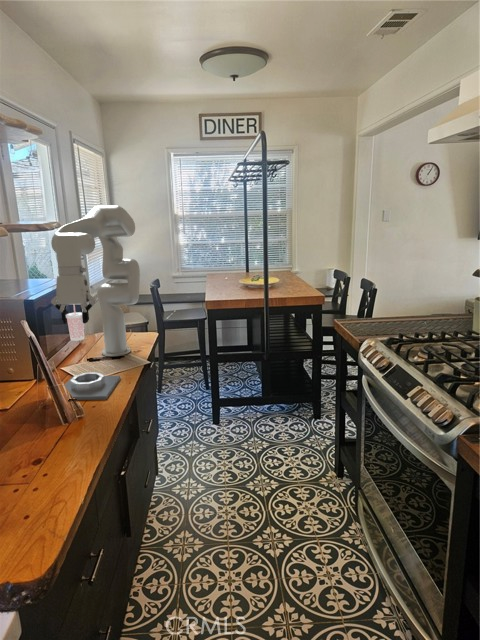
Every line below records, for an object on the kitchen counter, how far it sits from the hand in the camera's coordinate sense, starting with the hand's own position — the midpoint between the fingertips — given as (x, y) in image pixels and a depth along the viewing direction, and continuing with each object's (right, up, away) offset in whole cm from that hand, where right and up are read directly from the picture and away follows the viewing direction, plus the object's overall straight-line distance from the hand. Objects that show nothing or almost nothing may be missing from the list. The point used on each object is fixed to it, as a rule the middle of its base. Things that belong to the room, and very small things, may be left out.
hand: (75, 322), depth 143 cm
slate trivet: (+3, -24, +3) cm, 24 cm away
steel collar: (+3, -23, +3) cm, 23 cm away
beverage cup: (0, -6, +1) cm, 6 cm away
